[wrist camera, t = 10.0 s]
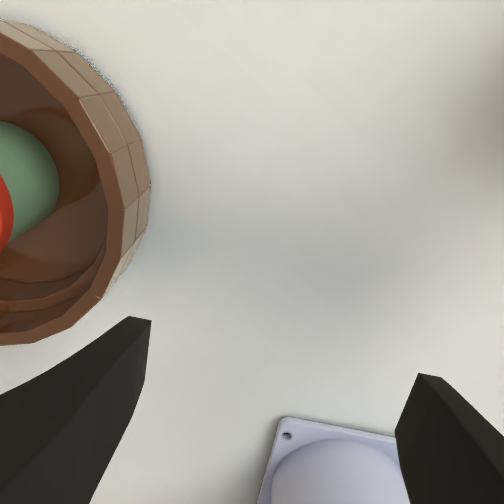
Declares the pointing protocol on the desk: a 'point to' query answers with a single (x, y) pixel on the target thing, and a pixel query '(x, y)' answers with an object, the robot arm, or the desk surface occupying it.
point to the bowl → (68, 186)
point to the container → (24, 182)
